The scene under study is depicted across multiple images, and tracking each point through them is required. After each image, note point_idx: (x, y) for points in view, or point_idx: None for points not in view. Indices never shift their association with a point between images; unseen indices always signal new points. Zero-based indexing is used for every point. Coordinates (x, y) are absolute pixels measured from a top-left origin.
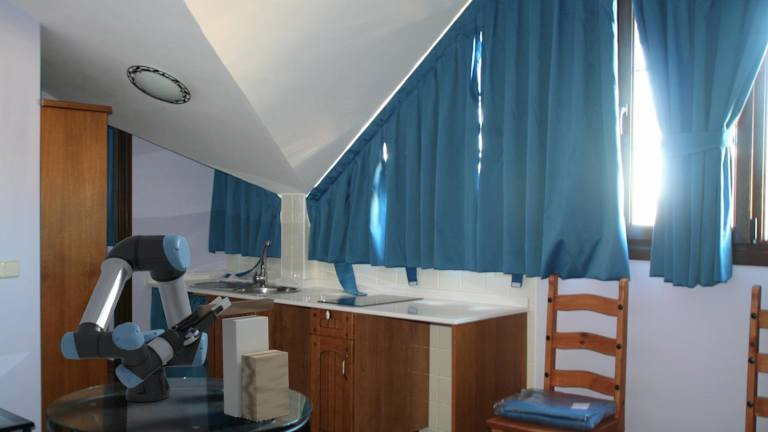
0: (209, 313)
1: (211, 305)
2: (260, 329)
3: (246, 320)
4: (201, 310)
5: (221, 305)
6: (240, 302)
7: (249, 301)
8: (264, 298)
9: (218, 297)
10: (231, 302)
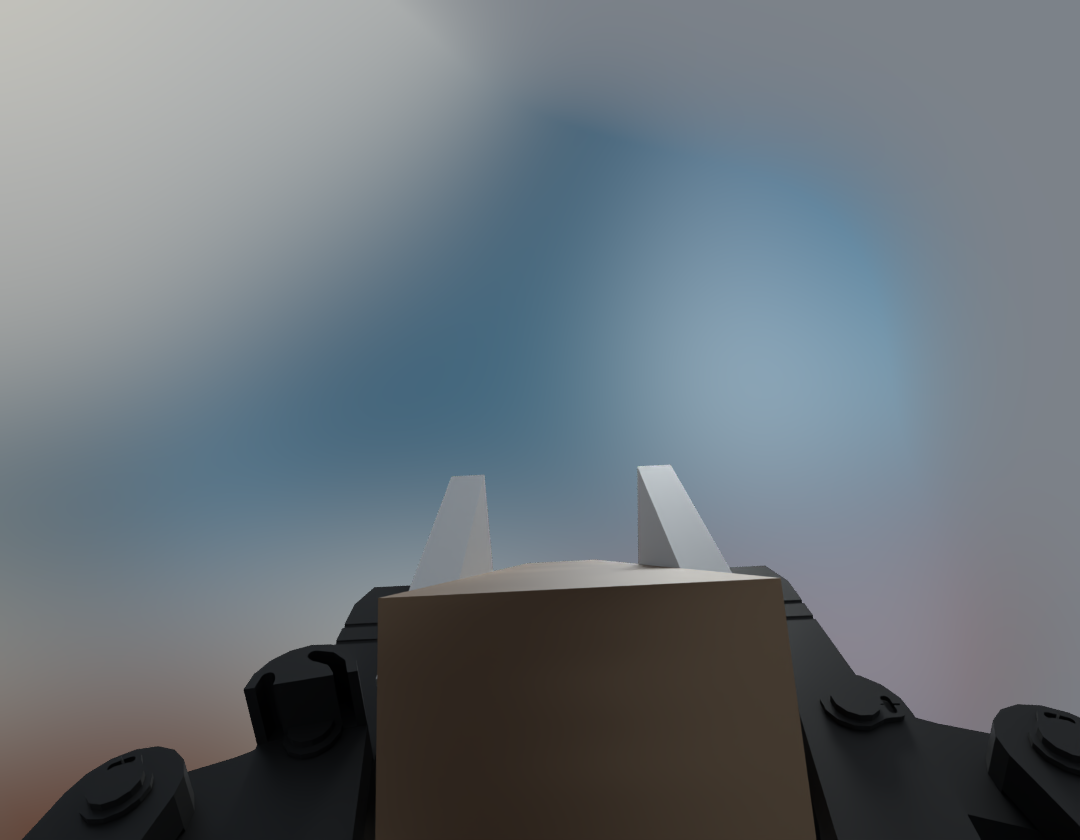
0: (952, 791)
1: (678, 570)
2: None
3: None
4: (666, 747)
5: (759, 568)
6: (620, 562)
7: (612, 561)
8: (527, 563)
9: (472, 486)
10: (542, 567)
